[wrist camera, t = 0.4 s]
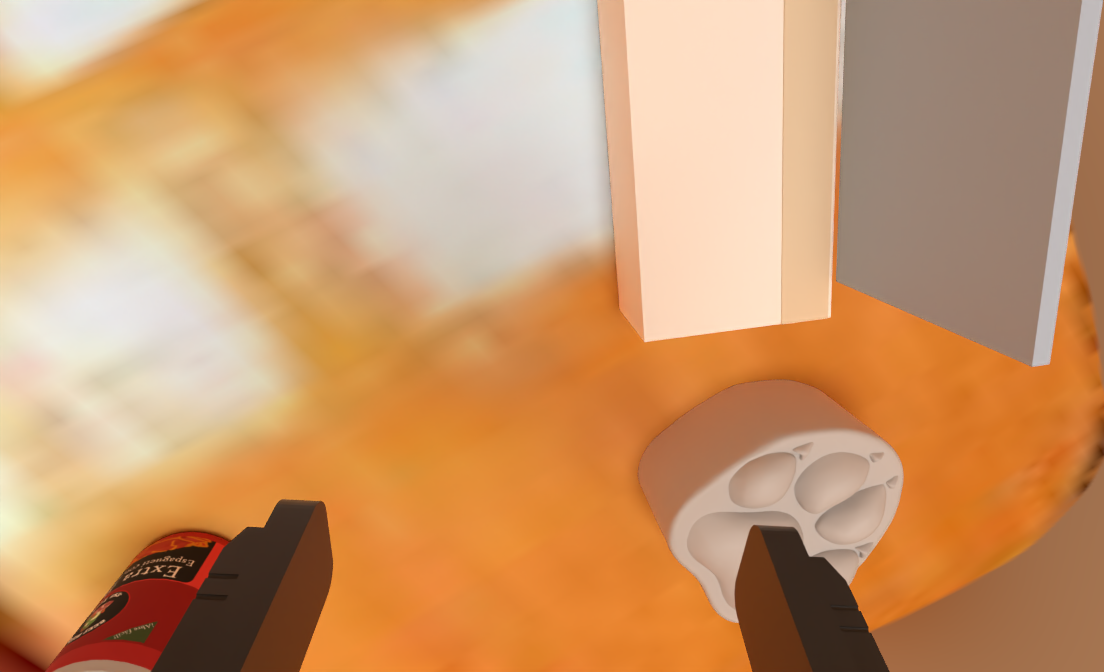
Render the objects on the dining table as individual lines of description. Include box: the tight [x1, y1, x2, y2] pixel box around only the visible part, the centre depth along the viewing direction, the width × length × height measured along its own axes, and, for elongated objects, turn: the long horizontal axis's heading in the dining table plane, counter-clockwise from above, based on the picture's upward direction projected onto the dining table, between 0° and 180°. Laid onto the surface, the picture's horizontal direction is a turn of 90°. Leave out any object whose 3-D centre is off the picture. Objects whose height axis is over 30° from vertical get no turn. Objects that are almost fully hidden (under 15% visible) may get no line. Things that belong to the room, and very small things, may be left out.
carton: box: [597, 0, 841, 342], centre depth 33 cm, size 20×10×6 cm, turn 6°
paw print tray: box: [638, 380, 903, 623], centre depth 38 cm, size 10×13×9 cm
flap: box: [836, 0, 1103, 367], centre depth 24 cm, size 16×1×12 cm, turn 6°
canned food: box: [45, 532, 229, 672], centre depth 36 cm, size 8×8×11 cm
